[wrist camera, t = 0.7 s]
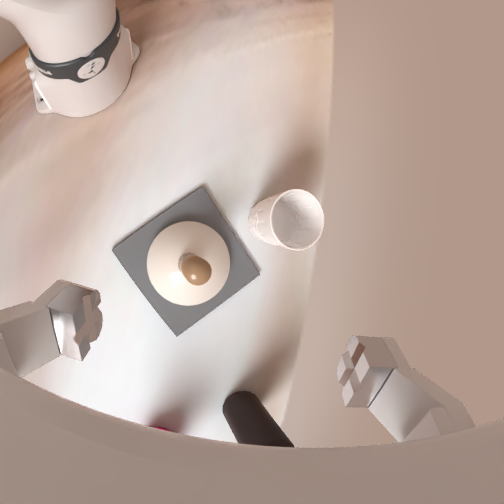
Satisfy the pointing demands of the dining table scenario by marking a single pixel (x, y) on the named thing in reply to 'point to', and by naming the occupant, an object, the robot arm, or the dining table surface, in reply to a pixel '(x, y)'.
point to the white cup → (288, 219)
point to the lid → (188, 263)
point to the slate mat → (138, 244)
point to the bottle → (253, 422)
